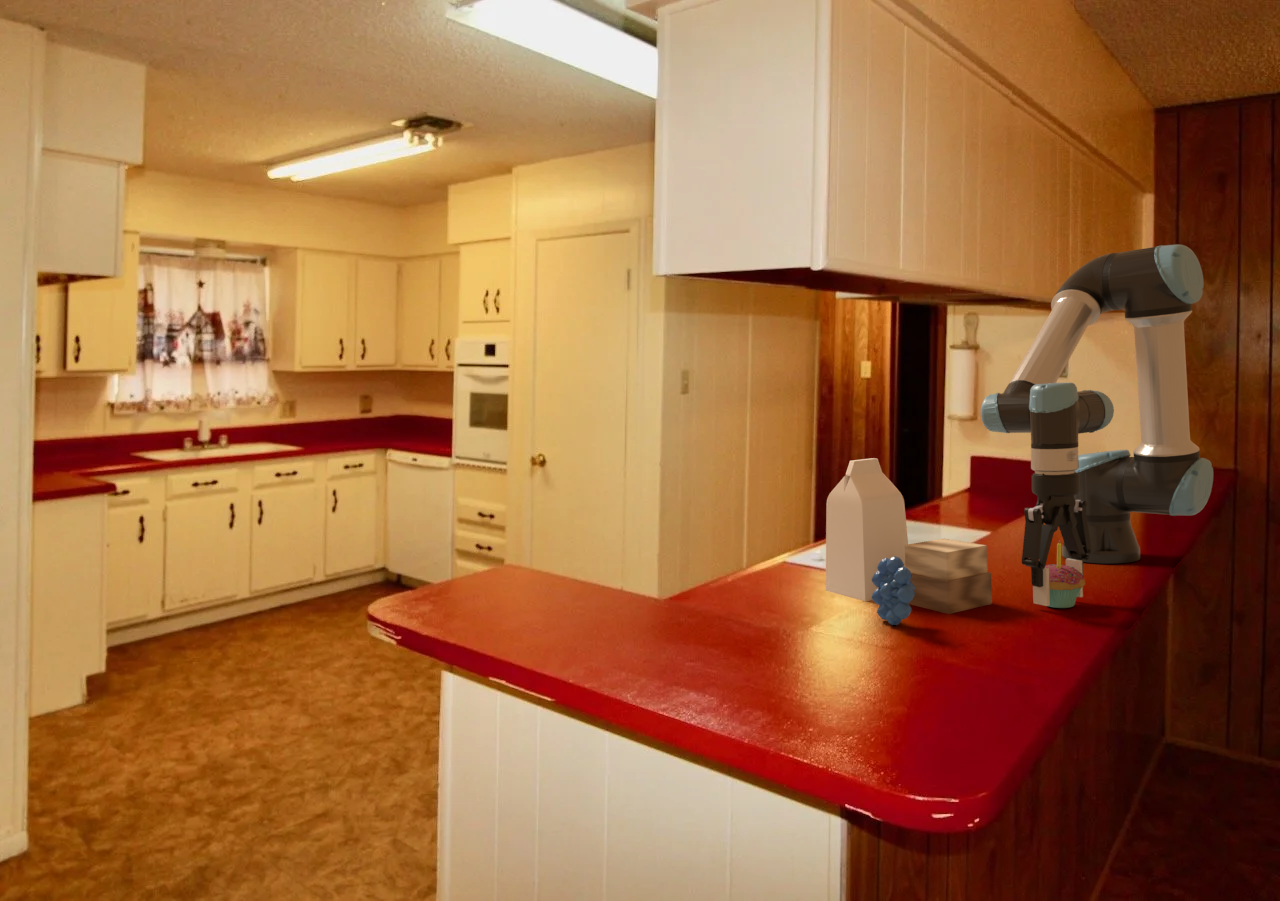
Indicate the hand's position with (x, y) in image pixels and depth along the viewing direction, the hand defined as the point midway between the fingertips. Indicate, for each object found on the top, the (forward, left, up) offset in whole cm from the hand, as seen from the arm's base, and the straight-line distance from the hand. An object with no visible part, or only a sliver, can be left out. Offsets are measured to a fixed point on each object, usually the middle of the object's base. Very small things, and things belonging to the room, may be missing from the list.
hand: (1058, 599), depth 156 cm
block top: (+12, -14, +4) cm, 19 cm away
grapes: (+29, -9, -1) cm, 31 cm away
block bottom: (+12, -14, -2) cm, 19 cm away
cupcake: (0, 0, -1) cm, 1 cm away
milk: (+16, -30, -1) cm, 34 cm away
